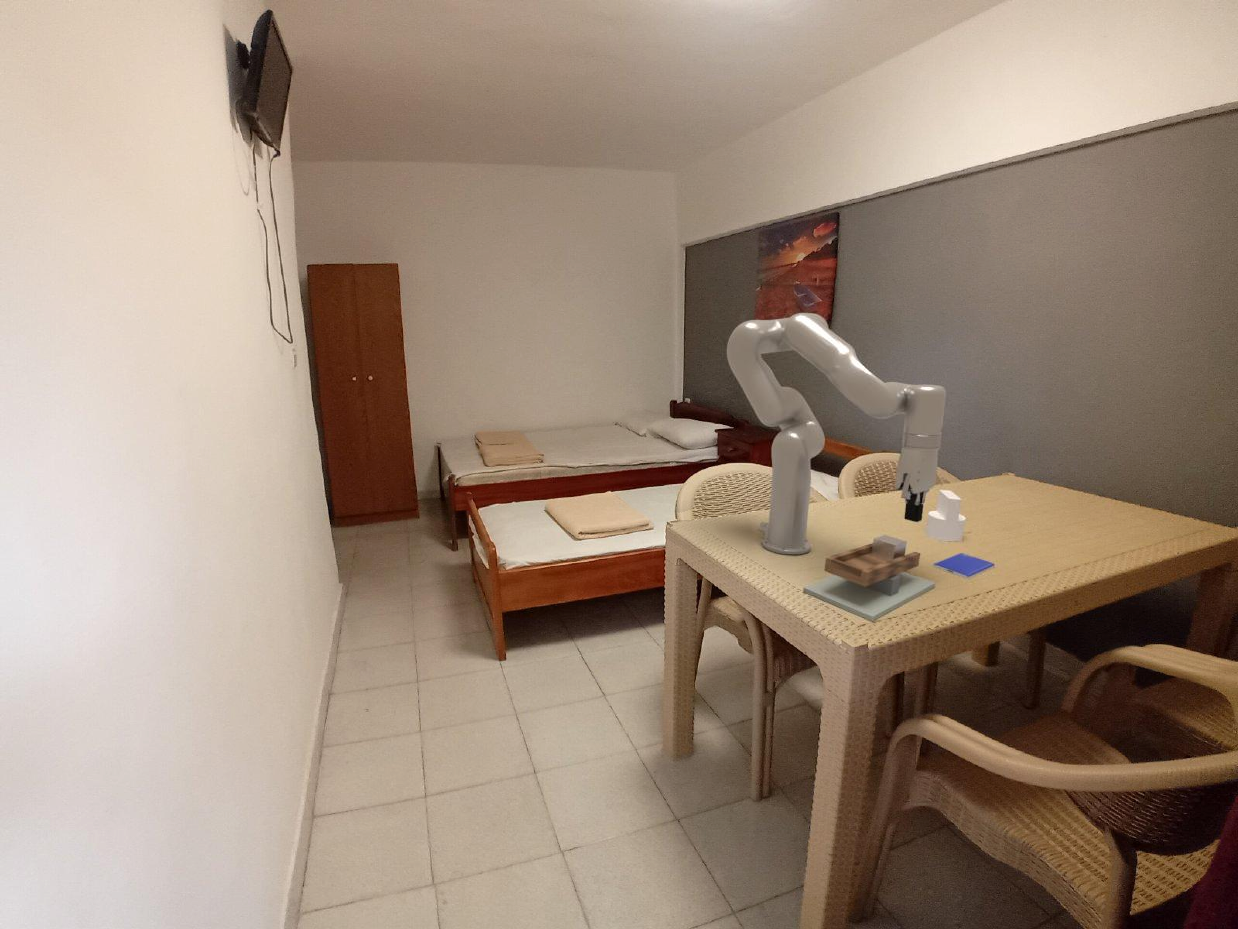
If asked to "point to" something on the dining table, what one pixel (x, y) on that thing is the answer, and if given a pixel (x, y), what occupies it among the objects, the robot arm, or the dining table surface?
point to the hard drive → (964, 565)
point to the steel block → (888, 548)
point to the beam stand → (869, 593)
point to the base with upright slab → (946, 518)
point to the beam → (868, 565)
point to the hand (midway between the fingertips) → (912, 519)
